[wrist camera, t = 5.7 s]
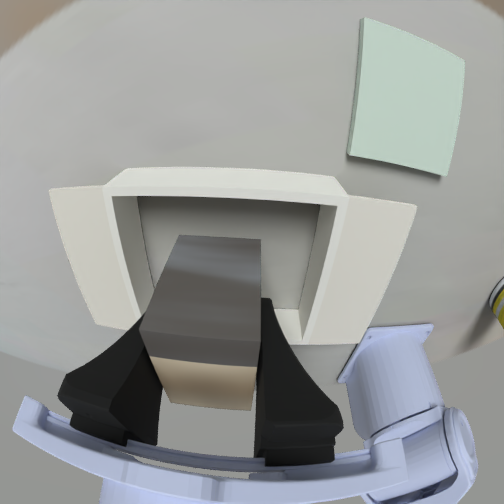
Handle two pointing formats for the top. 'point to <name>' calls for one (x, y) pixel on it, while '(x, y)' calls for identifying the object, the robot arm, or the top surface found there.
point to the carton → (247, 187)
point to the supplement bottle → (498, 302)
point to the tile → (405, 99)
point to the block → (207, 322)
